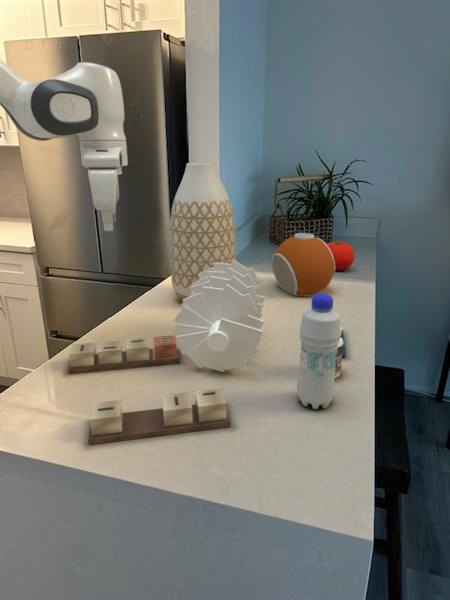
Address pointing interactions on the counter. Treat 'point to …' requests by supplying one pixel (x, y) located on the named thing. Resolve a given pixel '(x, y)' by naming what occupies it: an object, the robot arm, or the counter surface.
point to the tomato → (341, 254)
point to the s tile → (165, 347)
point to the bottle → (318, 352)
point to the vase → (199, 227)
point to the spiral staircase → (221, 318)
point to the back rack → (114, 356)
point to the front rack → (158, 417)
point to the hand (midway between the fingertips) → (110, 226)
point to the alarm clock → (303, 265)
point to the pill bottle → (338, 357)
